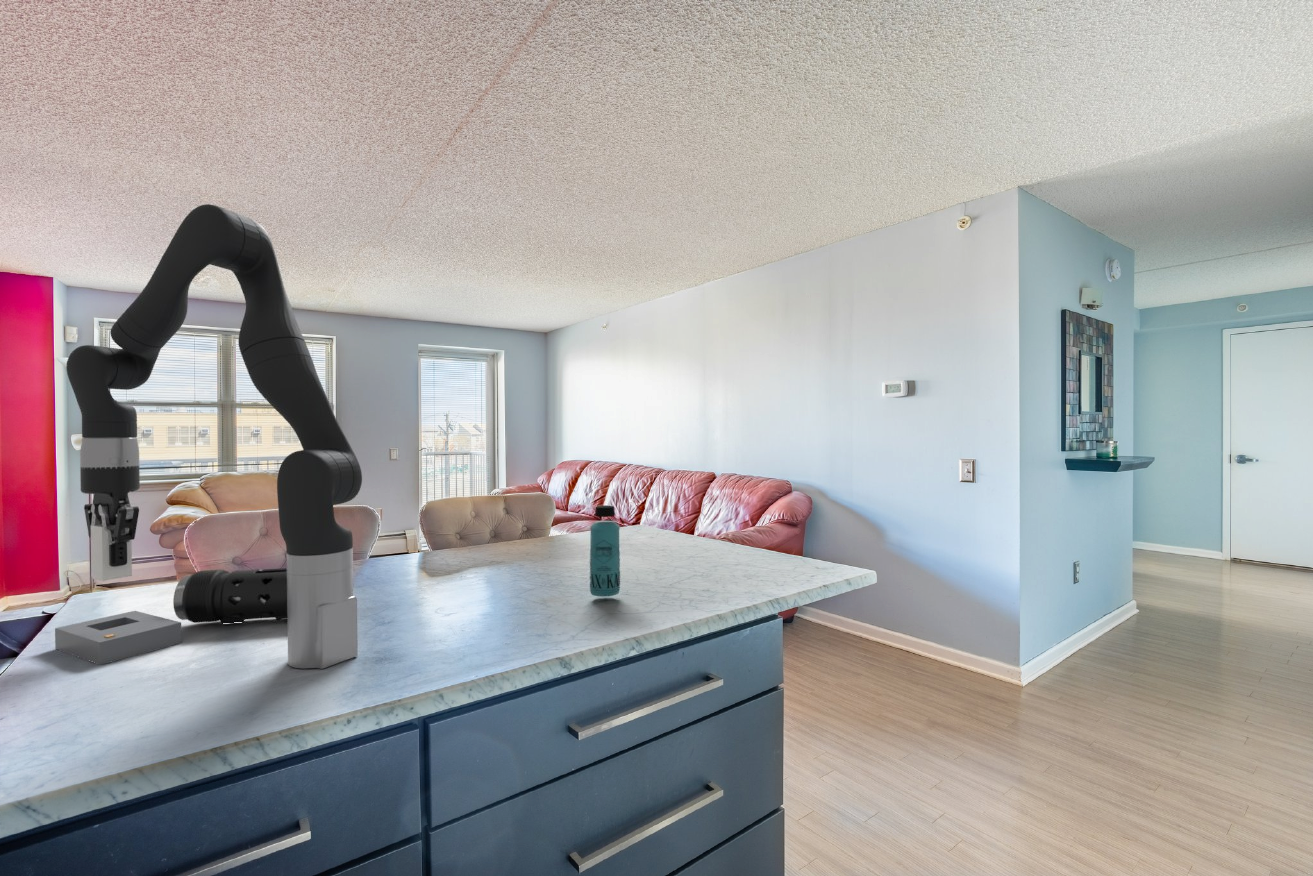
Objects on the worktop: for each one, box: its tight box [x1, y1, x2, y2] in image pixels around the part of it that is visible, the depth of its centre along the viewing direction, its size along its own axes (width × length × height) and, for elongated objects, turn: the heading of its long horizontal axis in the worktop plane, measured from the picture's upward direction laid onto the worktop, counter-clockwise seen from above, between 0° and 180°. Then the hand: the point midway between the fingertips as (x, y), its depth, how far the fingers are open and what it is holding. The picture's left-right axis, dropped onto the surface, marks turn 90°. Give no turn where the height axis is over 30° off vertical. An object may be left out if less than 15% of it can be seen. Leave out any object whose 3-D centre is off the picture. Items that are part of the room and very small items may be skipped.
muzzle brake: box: [172, 567, 287, 625], centre depth 116 cm, size 10×28×10 cm, turn 102°
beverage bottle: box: [588, 505, 621, 598], centre depth 128 cm, size 6×7×20 cm
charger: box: [90, 524, 133, 582], centre depth 104 cm, size 4×4×9 cm
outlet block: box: [54, 610, 183, 666], centre depth 103 cm, size 16×11×4 cm
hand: (111, 563), depth 104 cm, fingers closed on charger, 4 cm apart
